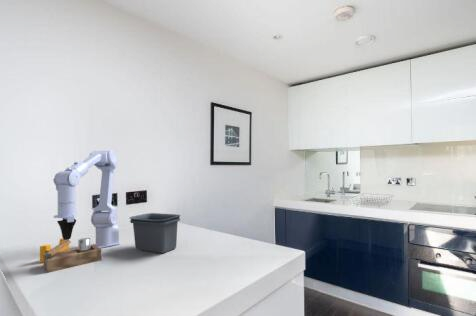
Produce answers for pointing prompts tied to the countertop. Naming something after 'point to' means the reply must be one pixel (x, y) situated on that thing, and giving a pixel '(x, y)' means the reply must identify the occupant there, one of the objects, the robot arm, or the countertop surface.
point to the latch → (58, 247)
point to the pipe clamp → (48, 247)
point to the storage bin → (155, 231)
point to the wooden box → (71, 258)
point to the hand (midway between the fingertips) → (66, 239)
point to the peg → (83, 245)
